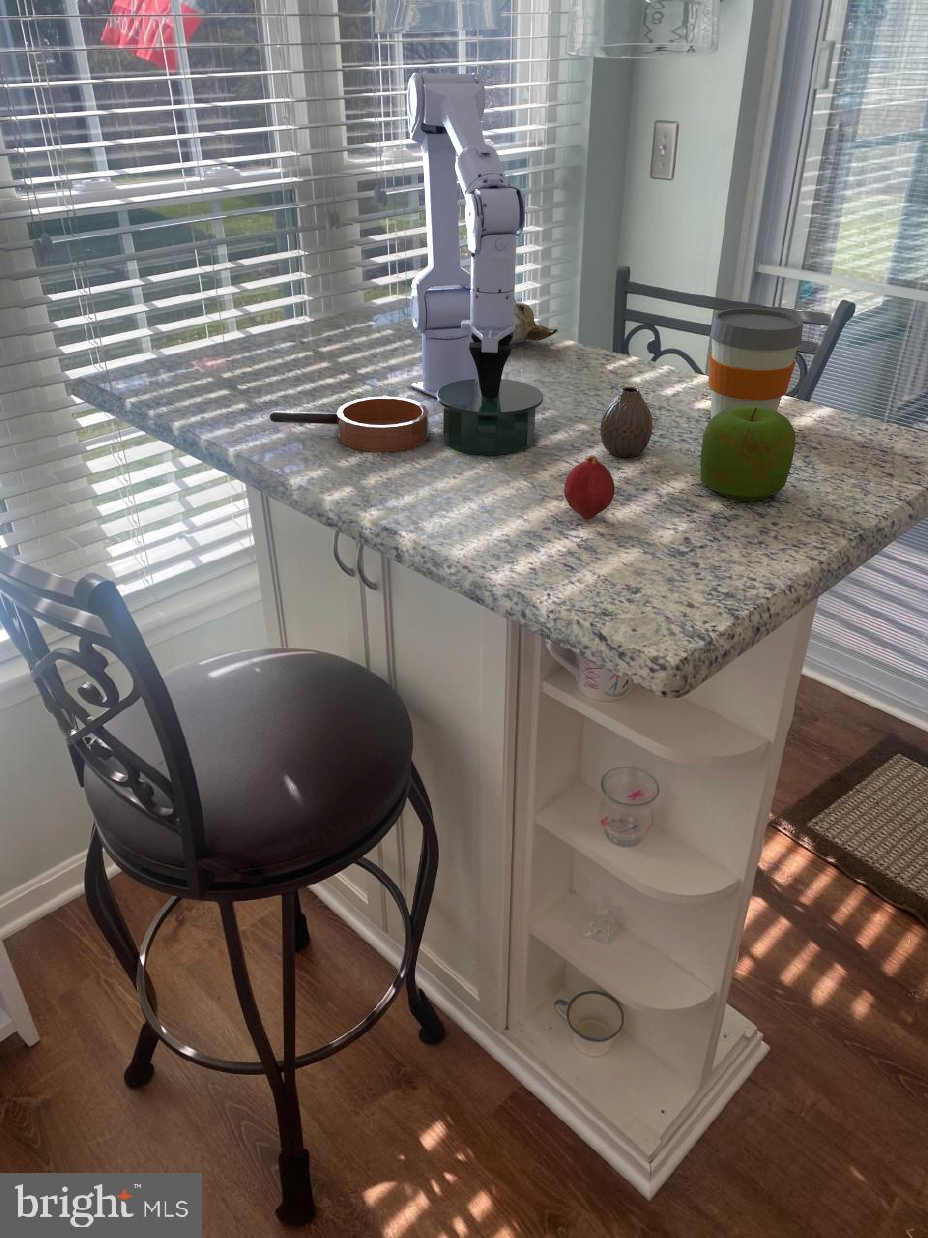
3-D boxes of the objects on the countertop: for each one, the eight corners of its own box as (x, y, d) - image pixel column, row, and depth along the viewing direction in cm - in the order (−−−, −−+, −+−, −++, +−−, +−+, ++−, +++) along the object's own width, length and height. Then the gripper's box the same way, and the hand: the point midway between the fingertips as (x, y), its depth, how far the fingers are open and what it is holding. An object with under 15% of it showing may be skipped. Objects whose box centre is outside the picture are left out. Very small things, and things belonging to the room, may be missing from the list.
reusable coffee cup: (804, 427, 144) (824, 323, 136) (741, 442, 138) (758, 334, 130) (742, 402, 153) (758, 303, 145) (680, 415, 147) (694, 313, 139)
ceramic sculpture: (462, 293, 175) (523, 286, 184) (459, 342, 179) (519, 333, 188) (502, 305, 168) (564, 298, 177) (498, 356, 172) (558, 346, 181)
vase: (617, 465, 130) (624, 400, 126) (588, 447, 136) (593, 385, 131) (659, 456, 133) (667, 393, 129) (629, 439, 138) (636, 378, 134)
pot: (533, 418, 146) (535, 379, 142) (533, 464, 130) (535, 421, 127) (448, 415, 146) (449, 376, 143) (438, 461, 131) (438, 418, 128)
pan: (432, 421, 144) (432, 398, 142) (423, 453, 133) (423, 428, 131) (346, 418, 145) (345, 395, 143) (331, 450, 134) (329, 425, 132)
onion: (558, 508, 118) (562, 445, 114) (605, 507, 119) (611, 444, 115) (567, 529, 113) (571, 464, 109) (616, 528, 114) (622, 463, 110)
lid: (542, 387, 141) (544, 354, 139) (543, 422, 129) (545, 387, 126) (441, 384, 142) (441, 351, 140) (432, 418, 129) (431, 383, 127)
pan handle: (344, 422, 139) (344, 412, 138) (343, 425, 138) (342, 415, 137) (271, 419, 139) (270, 409, 139) (268, 423, 138) (267, 413, 137)
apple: (712, 467, 130) (724, 387, 124) (794, 485, 125) (811, 402, 120) (683, 497, 122) (695, 412, 116) (770, 516, 117) (787, 429, 111)
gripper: (465, 275, 134) (463, 373, 141) (458, 300, 122) (457, 407, 129) (516, 276, 134) (513, 375, 141) (515, 302, 121) (511, 408, 128)
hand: (490, 390), depth 135 cm, fingers open, 4 cm apart
